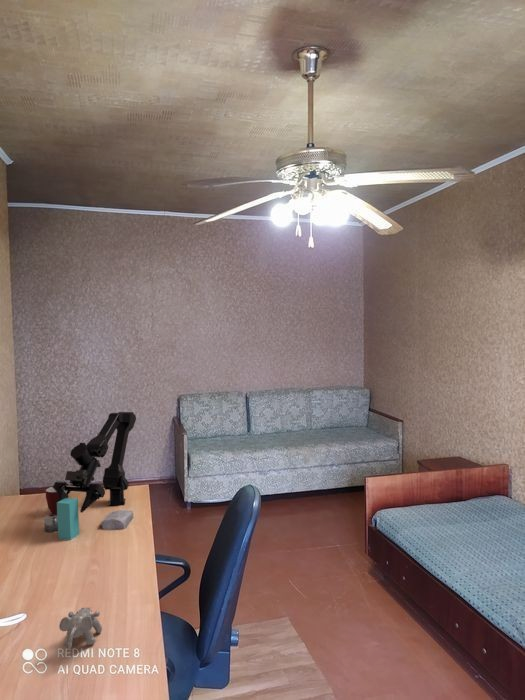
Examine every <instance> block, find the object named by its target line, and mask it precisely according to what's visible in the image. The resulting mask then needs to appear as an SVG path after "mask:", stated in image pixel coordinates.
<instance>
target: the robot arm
mask: <svg viewBox="0 0 525 700" xmlns="http://www.w3.org/2000/svg"><path fill="white" fill-rule="evenodd" d="M136 420H137V416H136V414H135V413H134V412H133V411H118V412H110V413H109V415H108V418H107V419H106V422H105V423H104V425H103V426H102V427H101V429H100V431H99V432H98V434H97V435H96V436H95V437H93V438H91V439H90V440H89V441H88V443H85V442H79V444H77V445H76V446H74V447H73V448H72V449H71V450H70V456H71V458H72V459H73V460H74V461H75V463H77V465H79V469H78V470H76V471H75V470H73V471H71V470H67V471H66V474H65V479H64V480H65V481H61V480H57V481H55V482H54V483H53V486H52V487H53V488H54V489H55V491H56V492H57V493H58V502H59V501H61V500H63V499H65V498H70V497H69V494H70V493H71V492H77V493H78V492H79V493H85V497H84V500H83V502H82V505H81V508H80V509H79V512H80V513H84V511H86V510H87V509H88V508H89V507H90V506H91V505H92V504H94V503H95V502H96V501H97V500H100V499H101V498H104V497H105V495H106V491H107V490H109V501H108V507H115V506H121V505H125V504H126V498H125V492H124V491H126V490H128V488H129V486H130V485H129V484H130V483H129V481H128V479H127V478H126V472H125V470H124V469H125V468H124V467H123V464H124V460H125V454H126V449H127V444H128V439H129V434H130V432H131V430H133V429H134V427H135V423H136ZM115 431H116V434H115V435H116V436H115V441H114V446H113V450H112V451H113V452H112V456H111V461H110V465H109V466H108V467H105V468H104V471H103V472H104V473H103V475H102V476H103V477H102V485H103V486H102V485H101V484H100V483H91V482H93V481H95V477H94V475H95V472H96V470H97V468H101V463H100V459H97V458H104V457H105V456H106V455H107V452H108V449H109V441H110V439H111V438H112V436H113V434H114V433H115ZM66 481H69V483H70V484H71V485H69V483H67V482H66Z"/></svg>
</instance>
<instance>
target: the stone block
mask: <svg viewBox="0 0 525 700" xmlns="http://www.w3.org/2000/svg"><path fill="white" fill-rule="evenodd" d="M133 519H134V510H128V509H118V510H114V511H111V512H109V513H108V514H107V515H105V517H104V519H102V521H101V522H100V523H101V528H102V530H105V531H107V530H109V531H112V530H124V529H126V528H127V527H128V525H129V524H130V522H132V520H133ZM111 529H112V530H111Z"/></svg>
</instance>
